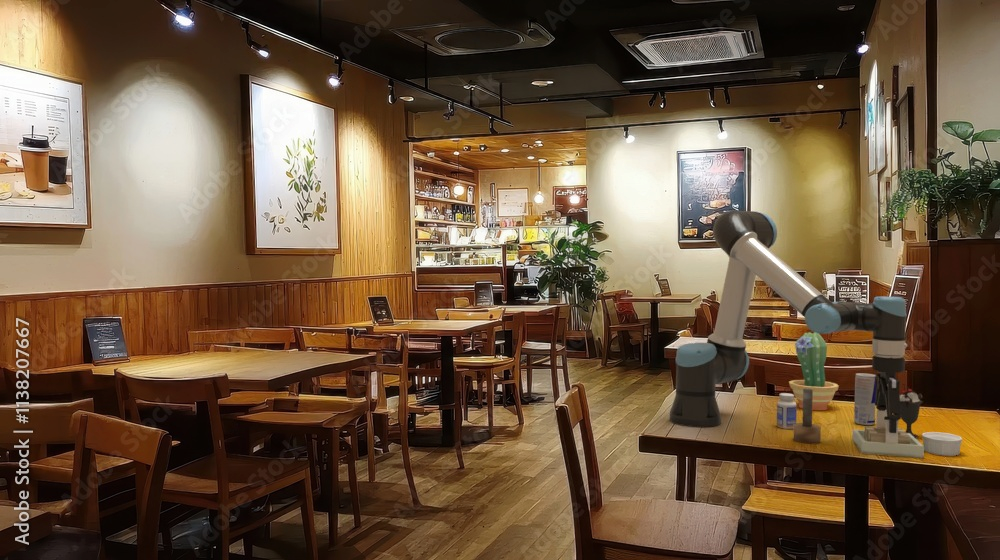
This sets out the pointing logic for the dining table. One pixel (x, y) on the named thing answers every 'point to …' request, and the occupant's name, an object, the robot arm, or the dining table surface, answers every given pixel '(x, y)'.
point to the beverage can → (865, 399)
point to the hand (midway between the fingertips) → (886, 439)
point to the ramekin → (941, 443)
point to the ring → (879, 435)
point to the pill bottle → (786, 411)
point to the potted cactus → (813, 371)
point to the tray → (888, 446)
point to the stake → (807, 422)
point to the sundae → (910, 408)
